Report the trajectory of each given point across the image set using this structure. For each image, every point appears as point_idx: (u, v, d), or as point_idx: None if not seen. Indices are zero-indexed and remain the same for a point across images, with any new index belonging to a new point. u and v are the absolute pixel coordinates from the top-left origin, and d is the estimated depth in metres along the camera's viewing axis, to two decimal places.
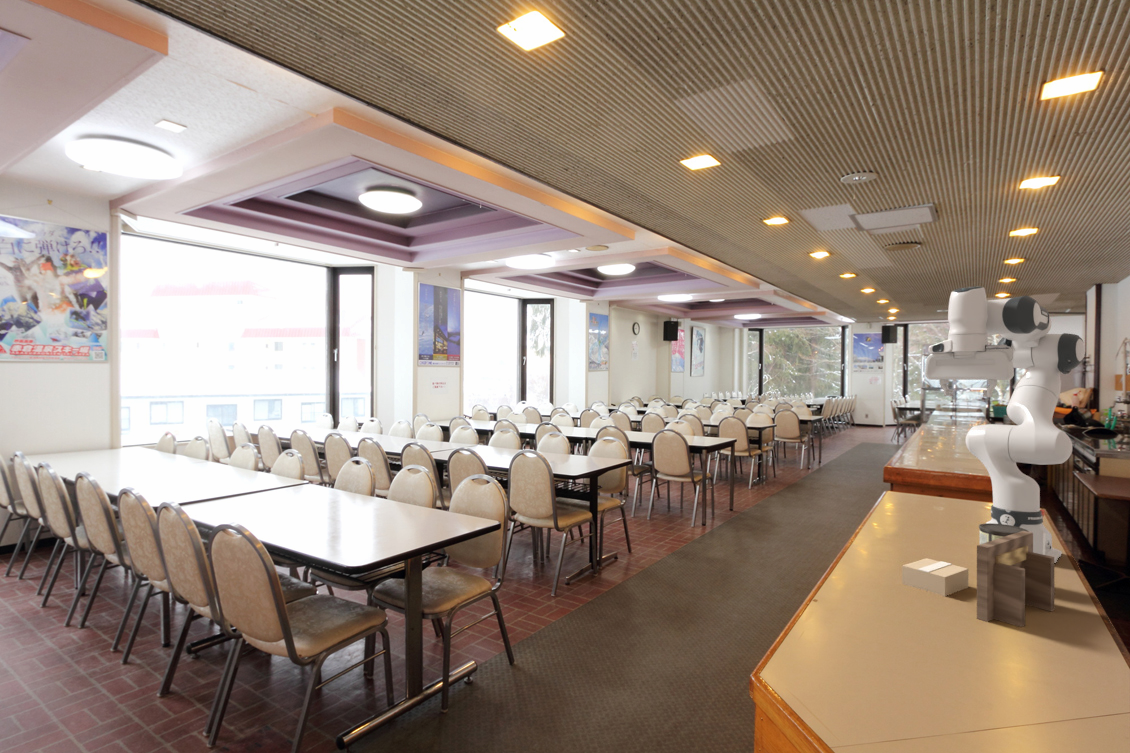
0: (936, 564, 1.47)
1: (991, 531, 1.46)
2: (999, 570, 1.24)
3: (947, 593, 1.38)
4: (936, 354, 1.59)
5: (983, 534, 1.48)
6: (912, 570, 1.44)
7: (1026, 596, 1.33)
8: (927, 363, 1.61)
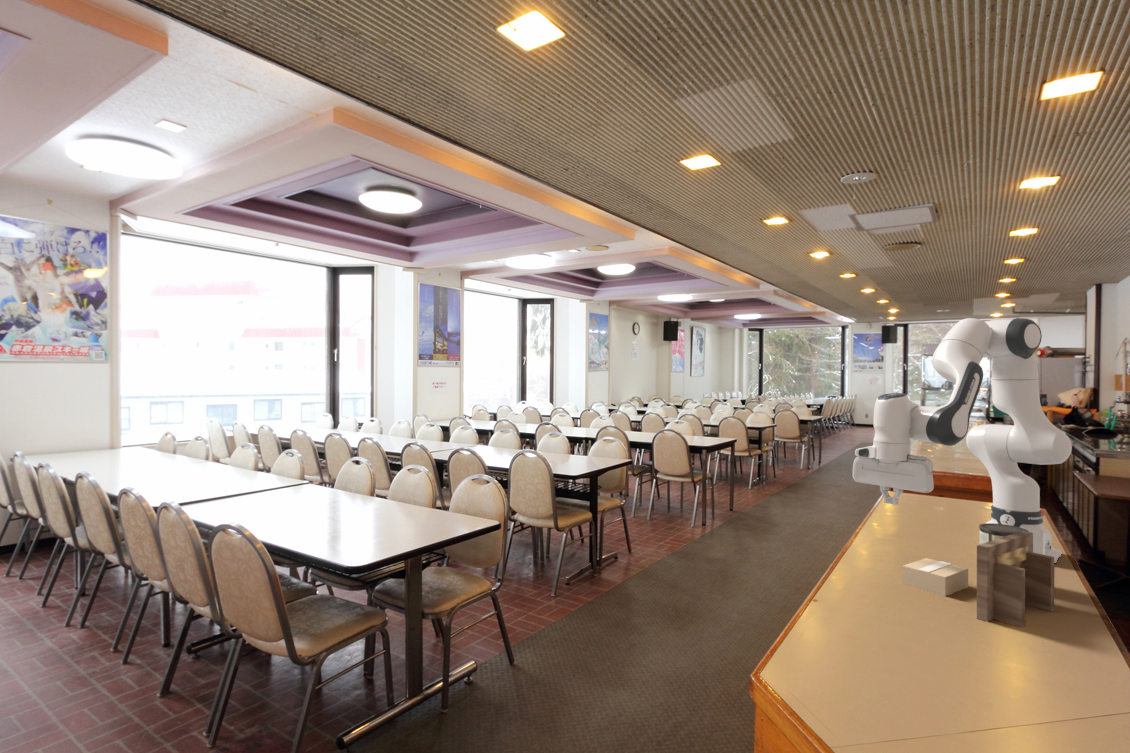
0: (936, 564, 1.47)
1: (991, 531, 1.46)
2: (999, 570, 1.24)
3: (947, 593, 1.38)
4: (862, 458, 1.59)
5: (983, 534, 1.48)
6: (912, 570, 1.44)
7: (1026, 596, 1.33)
8: (854, 466, 1.61)
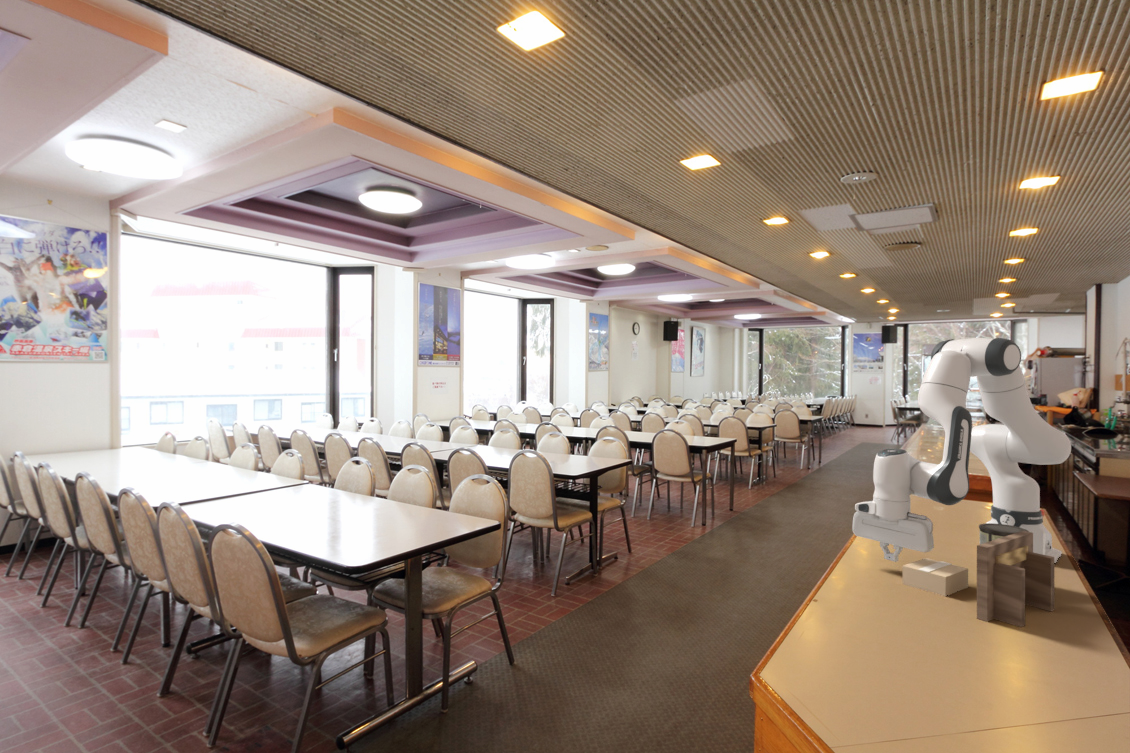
0: (936, 564, 1.47)
1: (991, 531, 1.46)
2: (999, 570, 1.24)
3: (947, 593, 1.38)
4: (862, 513, 1.59)
5: (983, 534, 1.48)
6: (912, 570, 1.44)
7: (1026, 596, 1.33)
8: (854, 520, 1.61)
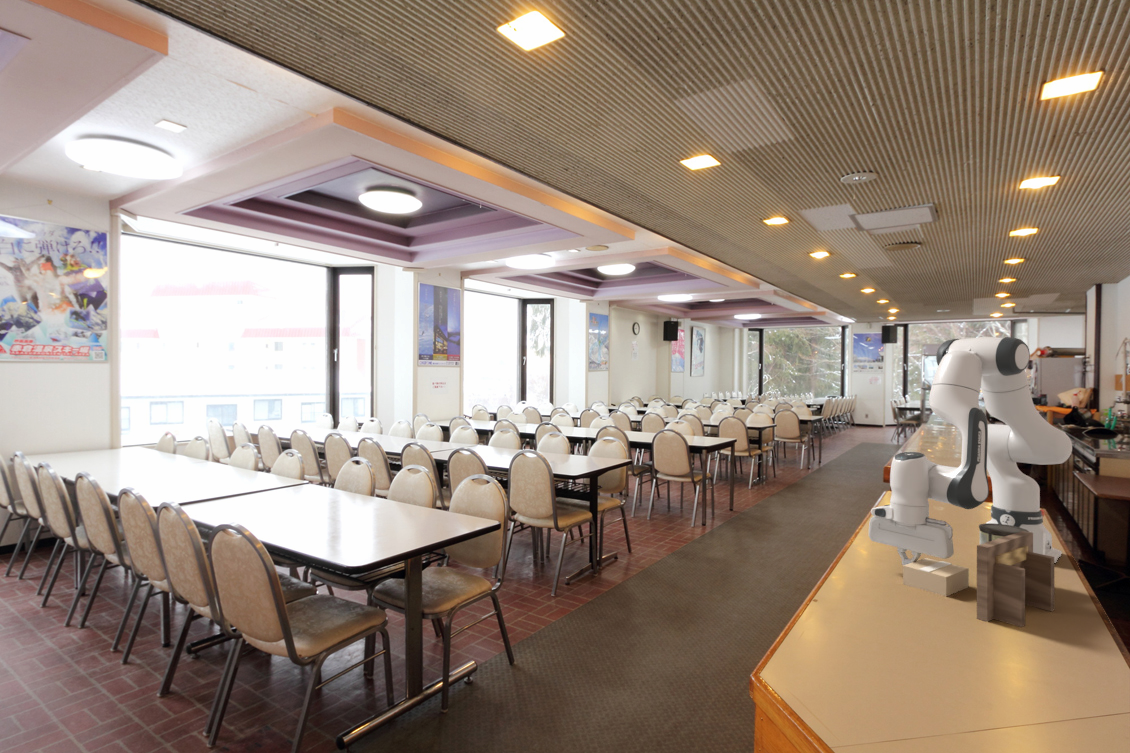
0: (936, 564, 1.47)
1: (991, 531, 1.46)
2: (999, 570, 1.24)
3: (948, 593, 1.38)
4: (878, 518, 1.55)
5: (983, 534, 1.48)
6: (913, 569, 1.44)
7: (1026, 596, 1.33)
8: (870, 525, 1.57)
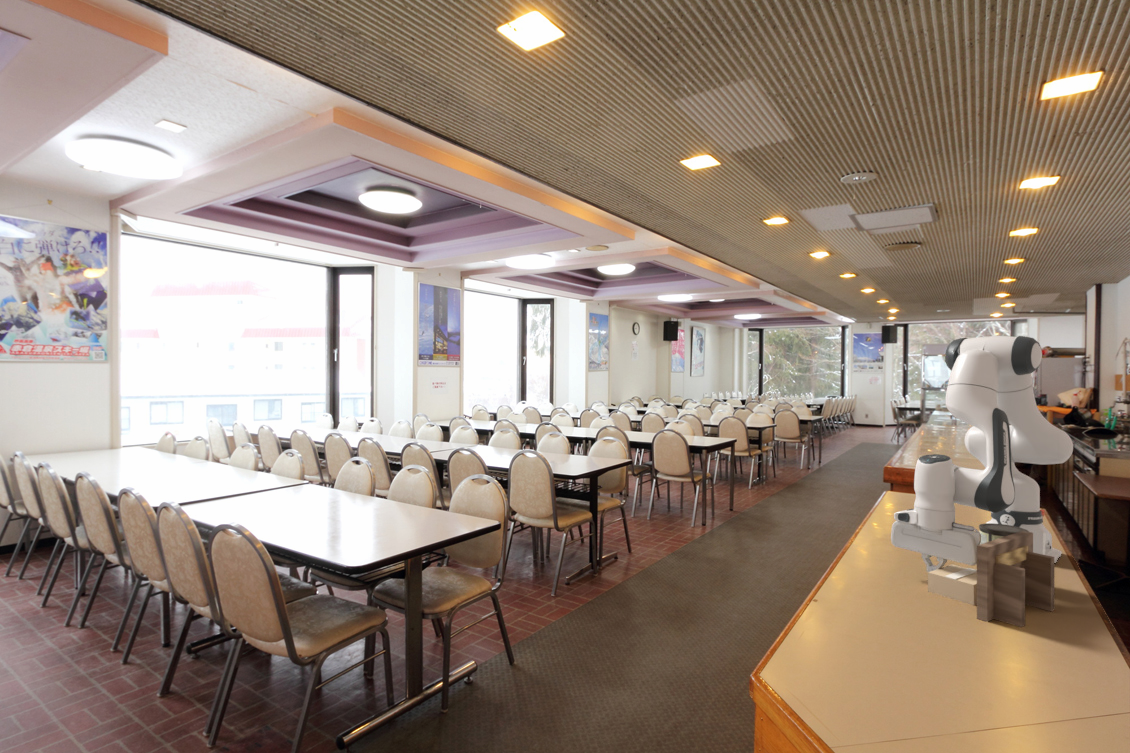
0: (963, 571, 1.41)
1: (991, 531, 1.46)
2: (999, 570, 1.24)
3: (976, 601, 1.33)
4: (902, 523, 1.50)
5: (983, 534, 1.48)
6: (938, 577, 1.39)
7: (1026, 596, 1.33)
8: (893, 529, 1.52)
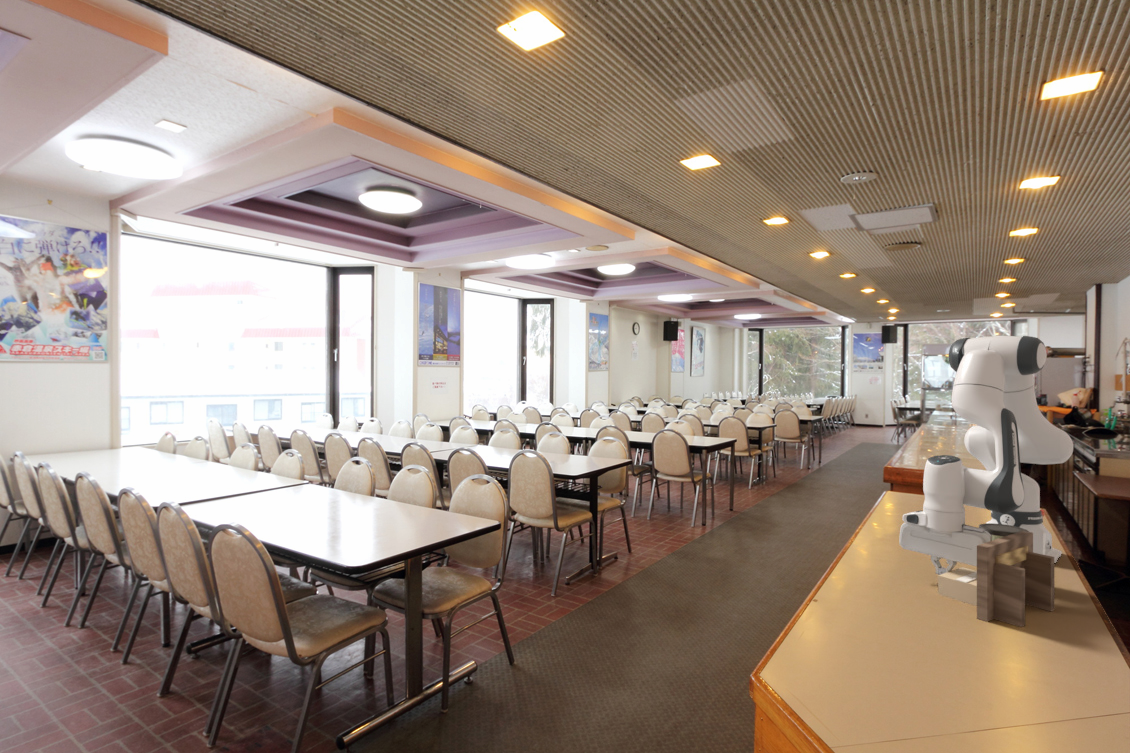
0: (973, 574, 1.39)
1: (991, 531, 1.46)
2: (999, 570, 1.24)
3: None
4: (910, 524, 1.48)
5: None
6: (949, 580, 1.37)
7: (1026, 596, 1.33)
8: (901, 531, 1.50)
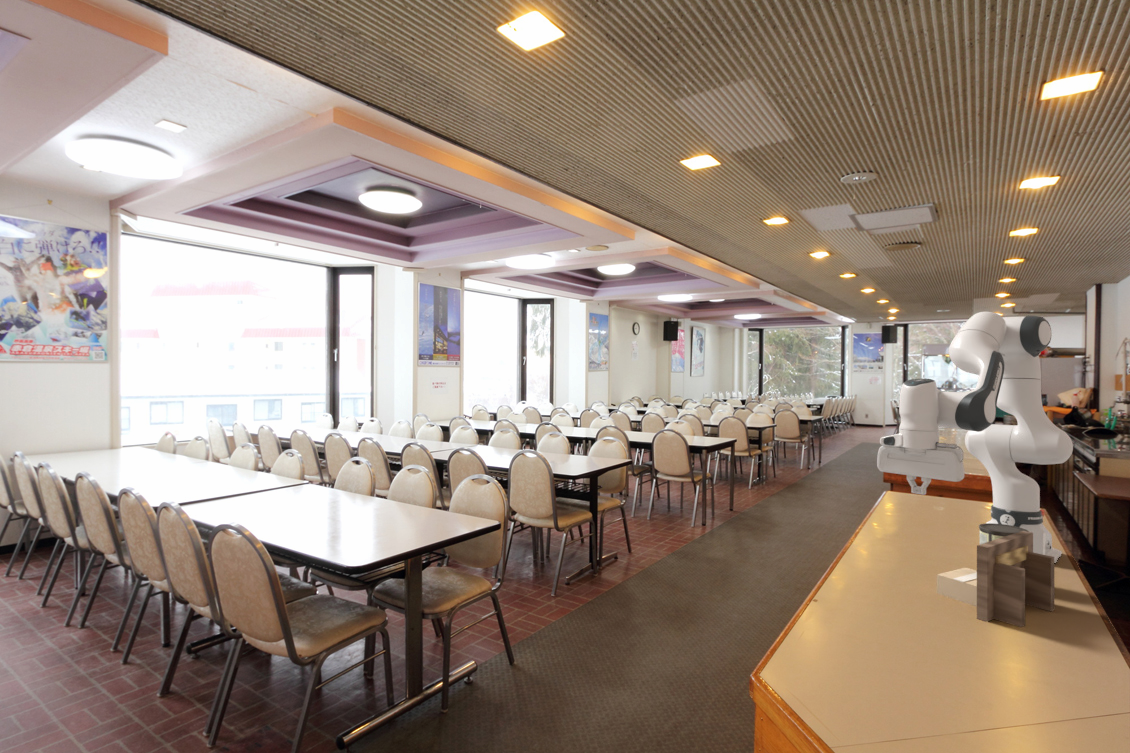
0: (975, 574, 1.39)
1: (991, 531, 1.46)
2: (999, 570, 1.24)
3: None
4: (887, 447, 1.53)
5: (983, 534, 1.48)
6: (947, 579, 1.37)
7: (1026, 596, 1.33)
8: (879, 455, 1.55)
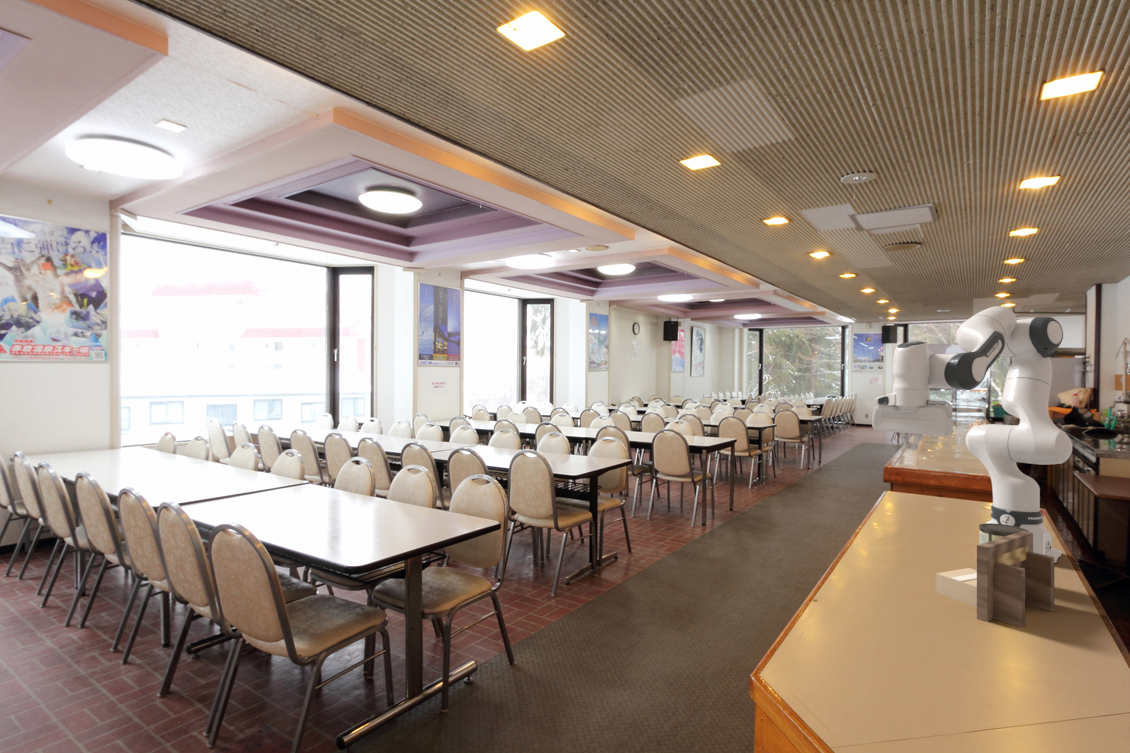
0: (975, 574, 1.39)
1: (991, 531, 1.46)
2: (999, 570, 1.24)
3: None
4: (882, 406, 1.62)
5: (983, 534, 1.48)
6: (945, 578, 1.38)
7: (1026, 596, 1.33)
8: (874, 414, 1.65)
